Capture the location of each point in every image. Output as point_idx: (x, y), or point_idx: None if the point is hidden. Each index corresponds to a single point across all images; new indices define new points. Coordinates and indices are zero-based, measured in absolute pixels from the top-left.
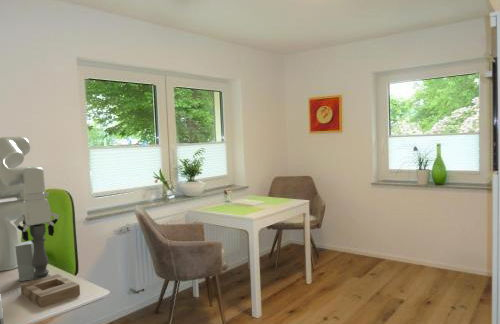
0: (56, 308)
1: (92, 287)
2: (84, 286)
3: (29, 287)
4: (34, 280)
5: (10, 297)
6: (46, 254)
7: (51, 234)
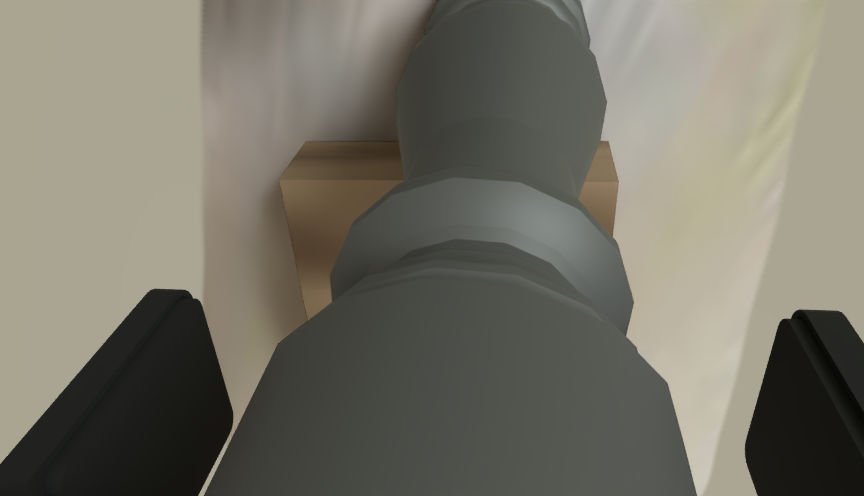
0: None
1: (698, 415)
2: (682, 364)
3: (322, 304)
4: (396, 181)
5: (230, 136)
6: (587, 173)
7: (755, 475)
